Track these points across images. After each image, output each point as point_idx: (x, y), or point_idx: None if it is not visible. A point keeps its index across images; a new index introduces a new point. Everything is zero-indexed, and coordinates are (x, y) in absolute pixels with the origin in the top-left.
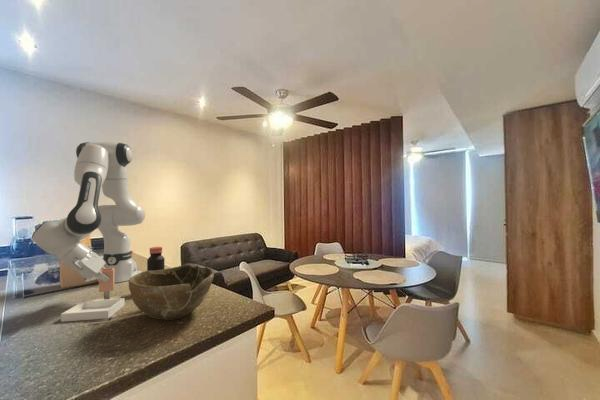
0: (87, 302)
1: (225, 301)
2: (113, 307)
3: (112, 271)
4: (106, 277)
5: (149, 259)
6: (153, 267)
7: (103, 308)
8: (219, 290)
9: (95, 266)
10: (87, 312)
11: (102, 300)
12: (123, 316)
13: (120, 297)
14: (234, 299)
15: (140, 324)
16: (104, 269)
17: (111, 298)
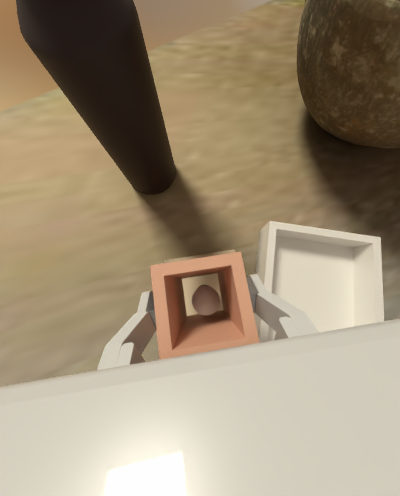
0: (266, 336)
1: (287, 28)
2: (344, 233)
3: (240, 256)
4: (262, 285)
5: (107, 30)
6: (149, 79)
7: (277, 278)
8: (201, 37)
9: (382, 396)
10: (381, 295)
11: (271, 286)
12: (328, 216)
13: (184, 257)
14: (279, 13)
15: (387, 169)
16: (171, 333)
17: (183, 283)
